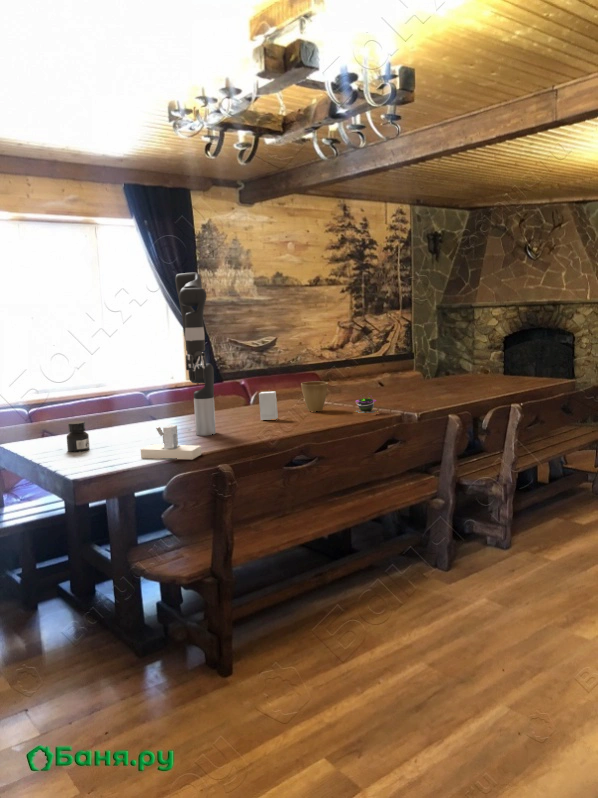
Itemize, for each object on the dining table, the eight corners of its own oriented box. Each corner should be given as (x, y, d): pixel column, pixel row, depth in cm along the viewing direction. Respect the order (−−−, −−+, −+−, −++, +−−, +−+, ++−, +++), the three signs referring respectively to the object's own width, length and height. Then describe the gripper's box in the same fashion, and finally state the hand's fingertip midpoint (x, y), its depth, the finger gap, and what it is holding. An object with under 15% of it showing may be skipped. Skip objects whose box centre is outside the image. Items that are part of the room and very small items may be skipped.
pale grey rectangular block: (170, 454, 256) (169, 425, 254) (178, 454, 255) (176, 425, 253) (164, 457, 251) (163, 427, 249) (172, 457, 250) (171, 427, 248)
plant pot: (300, 410, 359) (299, 382, 357) (326, 408, 360) (325, 381, 358) (303, 414, 344) (302, 385, 342) (330, 412, 346) (329, 383, 343)
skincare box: (278, 419, 331) (277, 391, 329) (275, 421, 325) (274, 392, 323) (262, 419, 333) (261, 391, 331) (259, 421, 327) (258, 392, 325)
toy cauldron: (347, 414, 339) (346, 394, 338) (361, 410, 351) (360, 391, 350) (371, 416, 330) (371, 395, 329) (385, 412, 343) (384, 392, 341)
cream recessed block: (151, 452, 260) (151, 444, 259) (201, 454, 254) (201, 445, 254) (141, 457, 251) (140, 449, 251) (192, 459, 246) (191, 450, 245)
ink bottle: (82, 452, 264) (80, 424, 263) (63, 452, 266) (60, 424, 264) (93, 447, 274) (91, 420, 272) (75, 447, 275) (72, 420, 274)
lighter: (172, 442, 281) (170, 424, 279) (173, 442, 279) (172, 424, 278) (156, 444, 277) (155, 426, 276) (158, 444, 275) (157, 426, 274)
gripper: (193, 338, 258) (195, 377, 260) (178, 340, 244) (180, 381, 246) (210, 337, 256) (212, 377, 258) (196, 339, 242) (198, 381, 245)
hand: (197, 379), depth 252 cm, fingers open, 8 cm apart
